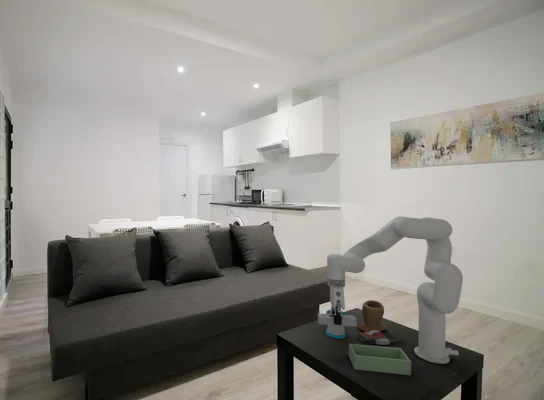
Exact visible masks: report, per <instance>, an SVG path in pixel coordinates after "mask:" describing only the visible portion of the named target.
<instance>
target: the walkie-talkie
mask: <svg viewBox="0 0 544 400" xmlns="http://www.w3.org/2000/svg"><path fill="white" fill-rule="evenodd" d="M357 340H358V341H360V342H361V343H362V344H363V345H379V346H383V345H390V344H391V343H397V342H402V341H404V339H403V338H394V339H388V338H387V336H386V335H385V334H384V333H382V331H378V330H372V331H370V332H365V331H364V332H358V333H357Z"/></svg>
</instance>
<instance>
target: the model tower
mask: <svg viewBox="0 0 544 400" xmlns="http://www.w3.org/2000/svg"><path fill="white" fill-rule="evenodd" d="M332 311H333V310H332V305H331V306H330V309H327V310H326V311H325V314H332ZM341 315H347V314H346V313H345V311H344V310H341ZM326 326H327V328H326V329H325V331H324V333H325V335H326V336H328V337H330V338H333V339H345V338H347V333H346V331H345V326H338V325H326Z"/></svg>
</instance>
